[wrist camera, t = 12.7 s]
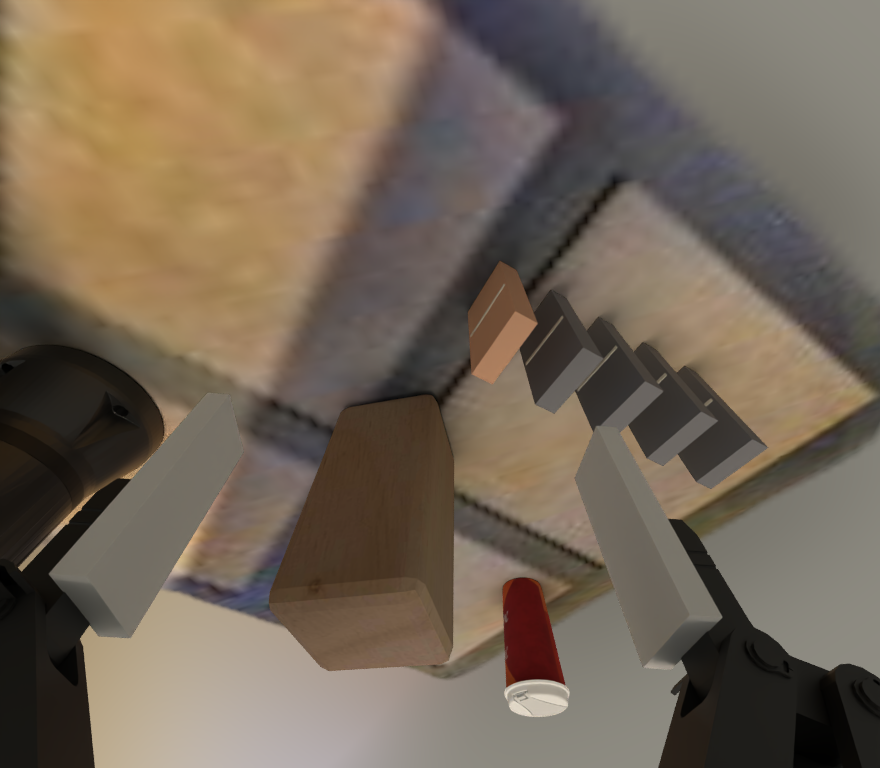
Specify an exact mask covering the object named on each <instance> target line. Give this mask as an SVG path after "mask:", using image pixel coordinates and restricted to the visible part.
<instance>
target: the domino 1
mask: <svg viewBox="0 0 880 768" xmlns="http://www.w3.org/2000/svg"><path fill="white" fill-rule="evenodd" d="M534 315H535V318H536V320H537V323H538V324H537V325H536V327H535V328H534V329H533V331H532V332H531V333H530V335H529V336H528V337H527V339H526V340H525V341H524V343H523V344H522V345H521V347H520V352H521V355H522V359H523V362H524V366H525V370H526V373H527V377H528V381H529V384H530V388H531V391H532V395H533V399H534V402H535V405H537V406H539V407H542V408H544V409H546V410H548V411H550V412H552V413H555V412H556V411H557V410H558V409H559V408H560V407H561V406H562V404H563V403H564V402H565V401H566V400H567V399H568V398H569V397H570V396H571V394H572V393H573V392H574V391H575V390H576V389H577V388H578V387H579V386H580V384H581V383H582V382H583V381H584V380H585V379H586V378H587V377H588V376H589V374H590V373H591V372H592V371H593V370H594V369H595V368H596V367H597V366H598V364H599V363H600V362H601V361H602V360H603V359H604V358H603V357H602V355H601V353H600V352H599V350H598V349H597V347H596V345H595V344H594V342H593V341H592V339H591V337H590V336H589V334H588V332H587V331H586V329H585V328H584V326H583V324H582V323H581V321H580V320H579V318H578V316H577V315H576V313H575V311H574V310H573V308H572V307H571V305H570V303H569V302H568V300H567V299H566V298H565V297H563V296H561V295H559V294H558V293H556V292H554V291H552V290H550V292H549V293H548V295H547V296H546V297H545V299H544V300H543V301H542V303H541V304H540V306H539V307H538V308H537V310H536V311H535V312H534Z"/></svg>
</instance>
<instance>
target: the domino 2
mask: <svg viewBox="0 0 880 768" xmlns="http://www.w3.org/2000/svg"><path fill="white" fill-rule="evenodd" d="M587 332H588V334H589V336H590V337H591V339H592V341H593V342H594V344H595V345H596V347H597V349H598V350H599V352H600V353H601V355H602V357H603V358H604V359H603V360H602V361H601V362H600V363H599V364H598V366H597V367H596V368H595V369H594V370H593V371H592V372H591V373H590V374H589V376H588V377H587V378H586V379H585V380H584V381H583V382H582V383H581V384H580V386H579V387H578V388H577V389H576V390H575V392H576V394H577V396H578V399H579V401H580V403H581V405H582V408H583V410H584V412H585V414H586V417H587V419H588V421H589V423H590V426H591V428H592V430H593V432H594V430H595V428H596V426H605V427H617V429H618V431H619V432H621V431H622V430H623V429H624V428H625V427H626V426H627V425H629V424H630V423H631V422H632V421H633V420H634V419H635V418H636V417H637V416H638V415H639V414H640V413H641V412H642V411H643V410H644V409H645V408H646V407H648V406H649V405H650V404H651V403H652V402H653V401H654V400H655V399H656V398H657V397H658V396H659V395H660V394H661V393H662V392H663V390H662V388H661V387H660V386H659V384H658V383H657V382H656V380H655V379H654V378H653V377H652V375H651V374H650V373H649V371H648V370H647V369H646V367H645V366H644V365H643V364H642V362H641V361H640V360H639V358H638V357H637V356H636V354H635V353H634V352H633V351H632V349H631V348H630V347H629V345H628V344H627V343H626V341H625V340H624V339H623V337H622V336H621V335H620V334H619V332H618V331H617V330H616V328H615V327H614V326H613V325H612V324H610V323H608V322H607V321H605V320H603V319H601V318H600V317H598V318H597V319H596V321H595V322H594V323H593V324H592V325H591V327H590V328H589V329H588V330H587Z"/></svg>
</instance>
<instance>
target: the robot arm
mask: <svg viewBox="0 0 880 768" xmlns="http://www.w3.org/2000/svg"><path fill="white" fill-rule="evenodd" d="M162 438H163V424H162V420H161V417H160V414H159V412H158V410H157V408H156V406H155V405H154V403H153V402H152V400H151V399H150V398H149V396H148V395H147V394H146V393H145V392H144V391H143V389H142V388H141V387H140V386H139V385H137V384H136V383H135V382H134V381H133V380H132V379H131V378H129V377H128V376H127V375H126V374H124V373H123V372H121V371H120V370H118V369H117V368H115V367H114V366H112V365H110V364H109V363H107V362H105V361H103V360H101V359H99V358H97V357H95V356H92V355H90V354H87V353H84V352H82V351H78V350H75V349H71V348H67V347H62V346H54V345H38V346H31V347H27V348H24V349H22V350H20V351H18V352H16V353H14V354H12V355H10V356H8V357H6V358H4V359H3V360H1V361H0V768H95V765H94V755H93V746H92V734H91V724H90V713H89V703H88V693H87V682H86V672H85V662H84V652H83V645H82V643H81V641H80V638H81V636H82V635H83V633H84V632H85V630H86V629H87V628H88V626H89V625H90V626H91V627H92V629H93V630H94V631H95V632H96V634H97V635H98V636H101V637H119V638H131V636H132V635H133V633H134V631H135V630H136V628H137V627H138V625H139V623H140V621H141V620H142V618H143V617H144V615H145V613H146V612H147V610H148V608H149V607H150V605H151V604H152V602H153V600H154V599H155V597H156V595H157V594H158V592H159V590H160V589H161V587H162V586H163V584H164V582H165V581H166V579H167V577H168V576H169V574H170V572H171V571H172V569H173V567H174V566H175V564H176V563H177V561H178V559H179V558H180V556H181V554H182V553H183V551H184V549H185V548H186V546H187V545H188V543H189V541H190V540H191V538H192V536H193V535H194V533H195V531H196V530H197V528H198V526H199V525H200V523H201V522H202V520H203V518H204V517H205V515H206V513H207V512H208V510H209V508H210V507H211V505H212V504H213V502H214V500H215V499H216V497H217V495H218V494H219V492H220V490H221V489H222V487H223V485H224V484H225V482H226V481H227V479H228V477H229V476H230V474H231V472H232V471H233V469H234V467H235V466H236V464H237V462H238V461H239V459H240V458H241V456H242V454H243V453H244V451H243V446H242V442H241V438H240V434H239V430H238V426H237V422H236V417H235V413H234V409H233V405H232V401H231V397H230V394H219V393H207V394H206V395H205V396H204V397H203V398H202V399H201V401H200V402H199V403H198V404H197V405H196V406H195V407H194V409H193V410H192V411H191V412H190V413H189V414H188V415H187V417H186V418H185V419H184V420H183V421H182V422H181V423H180V425H179V426H178V427H177V428H176V429H175V430H174V431H173V433H172V434H171V435H170V436H169V437H168V438H167V439H166V441H165V442H164V443H163V444H162V445H161V446H160V444H161V442H162ZM159 446H160V447H159ZM158 447H159V449H158V450H157V448H158ZM156 450H157V451H156ZM155 451H156V452H155ZM154 452H155V453H154ZM153 453H154V454H153ZM152 454H153V455H152ZM151 455H152V457H151V458H150V459H149V460H148V461H147V459H148V458H149V457H150V456H151ZM146 461H147V462H146ZM145 462H146V463H145ZM143 463H145V465H144V466H143V467H142V468H141V469H140V470H139V471H138V473H137V474H136V475H135V476H134V477H133V478H132V479H121V477H123V476H125V475H126V474H128V473H130V472H132V471H133V470H135V469H137V468H138V467H140V466H141V465H142V464H143ZM575 481H576V483H577V486H578V489H579V492H580V495H581V497H582V500H583V503H584V506H585V508H586V511H587V514H588V517H589V520H590V522H591V525H592V528H593V531H594V533H595V536H596V539H597V542H598V544H599V547H600V550H601V553H602V556H603V558H604V561H605V564H606V567H607V569H608V572H609V575H610V578H611V581H612V583H613V586H614V589H615V592H616V594H617V597H618V600H619V603H620V606H621V608H622V611H623V614H624V616H625V619H626V622H627V625H628V628H629V630H630V633H631V636H632V639H633V641H634V644H635V647H636V650H637V653H638V655H639V658H640V661H641V663H642V666H643V668H655V669H672V668H673V667H674V666H675V665H676V664H677V663H678V662H679V661H680V660H682V662H683V664H684V666H685V669H686V671H687V673H688V674H686V676H684V677H683V678H682V679H681V680H680V681H679V682H678V683H677V684H676V685H675V686H674V687H673V689H672V690H671V693H672V694H673V695H676V694H677V693H678V692H679V691H680V693H679V696H678V700H677V703H676V707H675V711H674V714H673V717H672V721H671V724H670V728H669V732H668V735H667V739H666V742H665V746H664V749H663V753H662V756H661V761H660V763H659V767H658V768H880V679H879V678H878V677H877V676H875V675H874V674H872V673H870V672H868V671H867V670H865V669H863V668H861V667H858V666H855V665H852V664H841V665H838V666H837V667H835V668H834V669H832V670H831V671H828V670H825V669H823V668H820V667H817V666H815V665H812V664H810V663H807V662H804V661H802V660H799V659H797V658H794V657H792V656H790V655H788V653H787V652H786V651H785V650H784V649H783V648H782V646H781V645H780V644H779V643H778V642H777V641H775V640H774V639H773V638H771V637H770V636H769V635H768V634H766V633H764V632H762V631H760V630H758V629H756V628H754V627H753V625H752V624H751V622H750V621H749V620H748V618H747V617H746V615H745V613H744V611H743V610H742V608H741V606H740V605H739V603H738V601H737V600H736V598H735V597H734V595H733V593H732V592H731V590H730V588H729V587H728V585H727V584H726V582H725V580H724V578H723V577H722V575H721V573H720V572H719V570H718V569H716V567H715V566H716V565H715V564H714V562H713V560H712V559H711V557H710V555H707V551H706V549H705V547H704V545H703V544H702V542H701V541H700V539H699V537H698V536H697V534H696V533H695V532H694V531H693V530H692V529H691V528H690V527H689V526H687V525H686V524H685V523H684V522H683V521H682V520H677V519H667V517H666V515H665V513H664V511H663V510H662V508H661V506H660V504H659V502H658V501H657V499H656V497H655V495H654V493H653V492H652V490H651V488H650V486H649V484H648V483H647V481H646V479H645V477H644V475H643V474H642V472H641V470H640V468H639V467H638V465H637V463H636V461H635V459H634V458H633V456H632V454H631V452H630V450H629V449H628V447H627V445H626V443H625V441H624V440H623V438H622V436H621V434H620V432H619V431H618V429H617V427H605V426H596V428H595V430H594V432H593V435H592V437H591V440H590V442H589V445H588V447H587V449H586V452H585V454H584V457H583V459H582V462H581V464H580V466H579V469H578V471H577V474H576V476H575ZM98 490H99V491H98ZM96 491H97V492H96ZM95 492H96V493H95ZM93 493H95V494H94V495H93V496H92V497H91V499H90V500H89V501H88V502H87V503H86V504H85V505H84V506H83V507H82V510H81V511H78V512H77V513H76V514H75V516H74V517H73V518H72V519H71V520H70V521H69V524H68V525H65V526H64V527H63V528H62V529H61V530H60V531H59V533H58V534H57V535H56V536H55V537H54V538H53V539H52V540H51V541H50V542H49V543H48V544H47V545H46V546H45V547H44V548H43V550H42V551H41V552H40V553H39V554H38V555H37V556H36V557H35V558H34V559H33V560H32V561H31V562H30V563H29V564H28V565H27V567H26V568H25V569H24V570H23V571H22V572H21V571H20V570H19V569H18V567H19V566H20V565H21V564H22V563H23V561H25V559H27V557H28V556H29V555H30V554H31V553H32V552H33V551H34V550H35V549H36V548H37V547H38V546H39V545H40V544H41V543H42V542H43V541H44V540H45V539H46V538H47V537H48V536H49V535H50V533H51V532H52V531H53V530H54V529H55V528H56V527H57V526H58V525H59V524H60V523H61V522H62V521H63V520H64V519H65V518H66V517H67V516H68V515H69V514H70V513H71V512H72V511H73V510H74V509H75V508H76V507H77V506H78V505H79V504H80V503H81V502H82V501H83V500H84V499H85V498H86V497H88V496H89V495H91V494H93Z"/></svg>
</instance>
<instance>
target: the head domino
mask: <svg viewBox="0 0 880 768" xmlns="http://www.w3.org/2000/svg"><path fill="white" fill-rule="evenodd" d="M468 323H469V339H470V356H471V372H472V375H474V376H476V377H479V378H481V379H483V380H485V381H487V382H489V383H491V384H493V383H494V382H495V380H496V379H497V378H498V376H499V375H500V374H501V372H502V371H503V370H504V368H505V367H506V366H507V364H508V363H509V361H510V360H511V359H512V357H513V356H514V355H515V353H516V352H517V351H518V349H519V348H520V347H521V345H522V344H523V343H524V341H525V340H526V339H527V337H528V336H529V335H530V333H531V332H532V331H533V329H534V328H535V327H536V325H537V324H538V323H537V320H536V318H535V315H534V313H533V310H532V308H531V305H530V303H529V300H528V298H527V295H526V293H525V290H524V288H523V285H522V283H521V280H520V278H519V275H518V273H517V270H515V269H514V268H512V267H510V266H508V265H507V264H505V263H503V262H501V261H499V263H498V264H497V266H496V267H495V269H494V271H493V272H492V274H491V275H490V277H489V279H488V280H487V282H486V283H485V285H484V287H483V288H482V290H481V292H480V293H479V295H478V296H477V298H476V300H475V301H474V303H473V304H472V306H471V308H470V309H469V311H468Z"/></svg>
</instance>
